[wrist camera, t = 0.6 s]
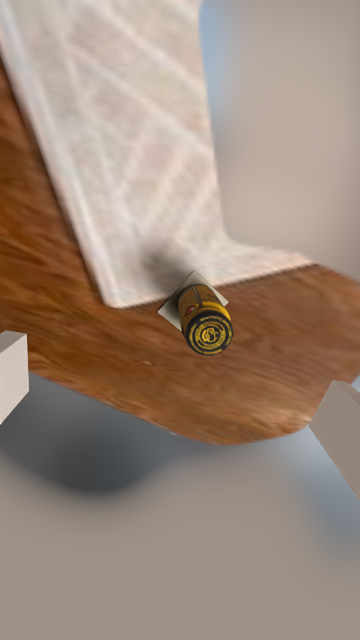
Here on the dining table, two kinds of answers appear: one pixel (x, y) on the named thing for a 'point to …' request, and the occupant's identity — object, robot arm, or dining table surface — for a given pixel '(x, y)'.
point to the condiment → (200, 316)
